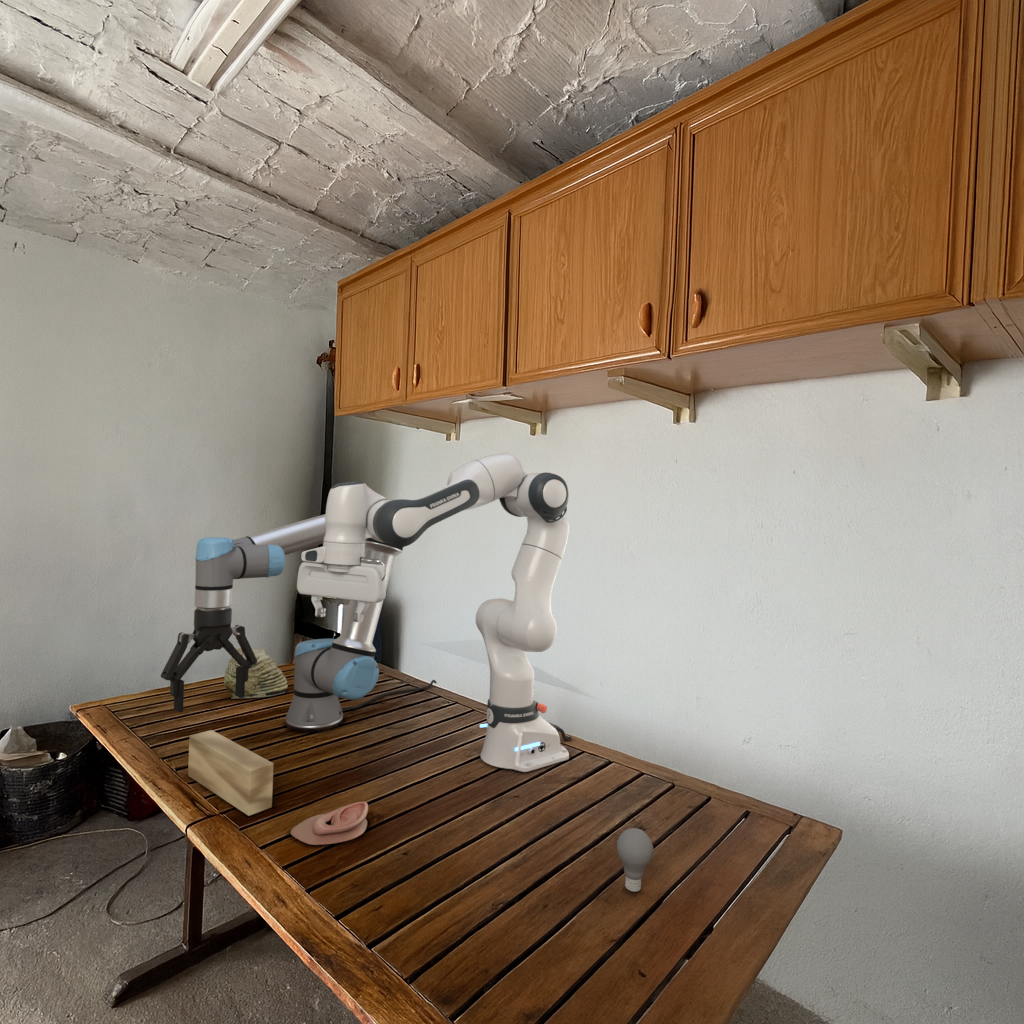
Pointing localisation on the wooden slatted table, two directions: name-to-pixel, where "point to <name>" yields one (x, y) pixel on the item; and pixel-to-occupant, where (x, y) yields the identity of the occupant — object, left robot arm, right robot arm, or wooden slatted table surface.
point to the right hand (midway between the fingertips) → (339, 619)
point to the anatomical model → (333, 825)
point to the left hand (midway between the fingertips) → (210, 703)
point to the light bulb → (634, 856)
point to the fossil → (257, 677)
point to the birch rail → (231, 771)
